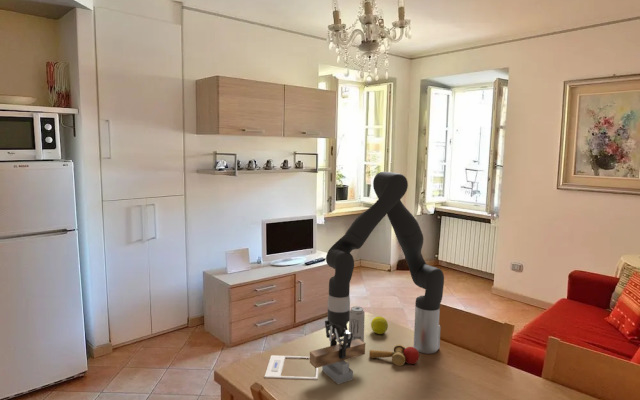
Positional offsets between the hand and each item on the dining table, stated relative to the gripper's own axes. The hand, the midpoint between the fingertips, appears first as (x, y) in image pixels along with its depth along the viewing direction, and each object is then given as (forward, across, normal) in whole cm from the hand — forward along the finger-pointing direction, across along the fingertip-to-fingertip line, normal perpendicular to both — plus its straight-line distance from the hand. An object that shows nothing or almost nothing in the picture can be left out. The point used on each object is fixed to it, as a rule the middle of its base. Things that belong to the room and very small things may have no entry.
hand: (337, 354), depth 146 cm
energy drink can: (+8, +15, -19) cm, 25 cm away
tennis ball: (+8, +19, -34) cm, 40 cm away
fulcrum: (+7, 0, 0) cm, 7 cm away
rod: (+1, 0, 0) cm, 1 cm away
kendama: (+8, -2, -24) cm, 25 cm away
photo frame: (+8, +12, +11) cm, 18 cm away
